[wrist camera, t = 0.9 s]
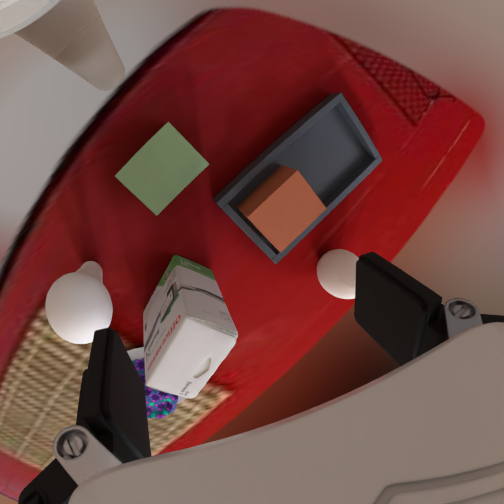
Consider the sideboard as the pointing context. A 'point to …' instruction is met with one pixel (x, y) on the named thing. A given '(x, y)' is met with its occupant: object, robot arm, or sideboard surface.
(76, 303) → the lightbulb
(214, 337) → the ink box
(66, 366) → the sideboard surface
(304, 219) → the orange block
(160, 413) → the patterned bowl
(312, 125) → the holder
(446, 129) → the sideboard surface
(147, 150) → the green block
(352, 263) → the egg
